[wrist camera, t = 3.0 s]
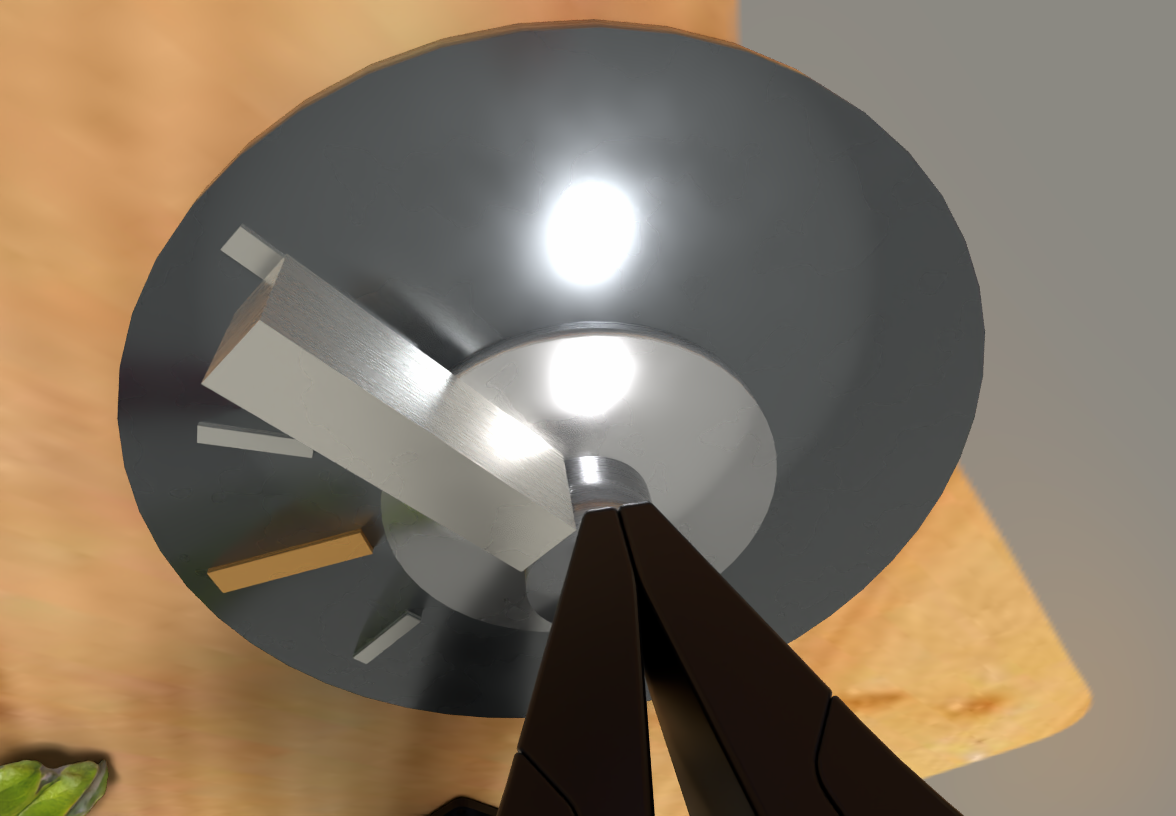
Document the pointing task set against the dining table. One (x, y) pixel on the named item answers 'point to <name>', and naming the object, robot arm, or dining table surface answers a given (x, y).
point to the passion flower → (51, 788)
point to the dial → (504, 437)
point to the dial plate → (557, 321)
